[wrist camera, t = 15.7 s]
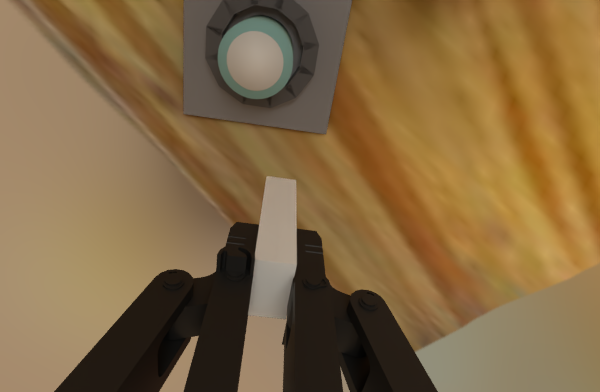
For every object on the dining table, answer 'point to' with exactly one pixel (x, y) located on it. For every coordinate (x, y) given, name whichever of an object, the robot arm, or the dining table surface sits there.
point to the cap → (256, 57)
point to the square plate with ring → (305, 72)
